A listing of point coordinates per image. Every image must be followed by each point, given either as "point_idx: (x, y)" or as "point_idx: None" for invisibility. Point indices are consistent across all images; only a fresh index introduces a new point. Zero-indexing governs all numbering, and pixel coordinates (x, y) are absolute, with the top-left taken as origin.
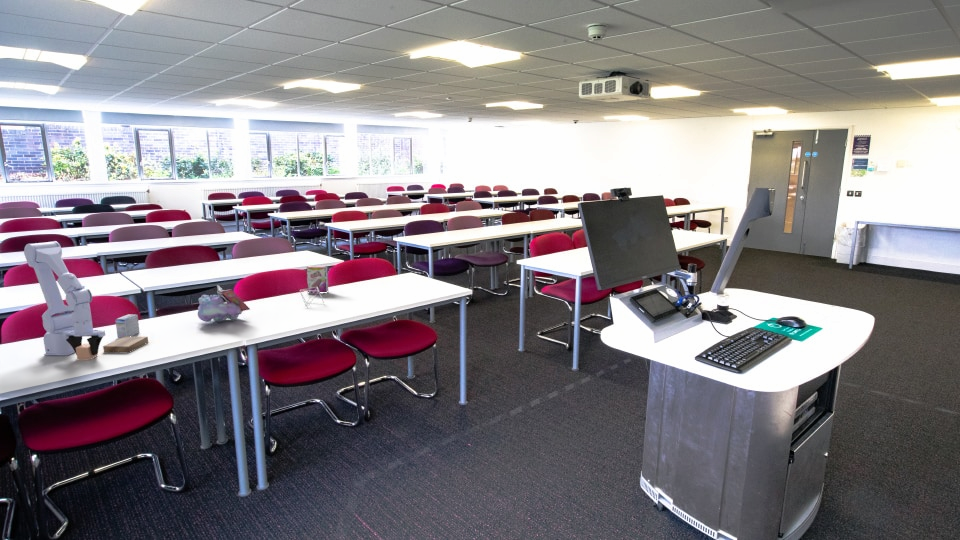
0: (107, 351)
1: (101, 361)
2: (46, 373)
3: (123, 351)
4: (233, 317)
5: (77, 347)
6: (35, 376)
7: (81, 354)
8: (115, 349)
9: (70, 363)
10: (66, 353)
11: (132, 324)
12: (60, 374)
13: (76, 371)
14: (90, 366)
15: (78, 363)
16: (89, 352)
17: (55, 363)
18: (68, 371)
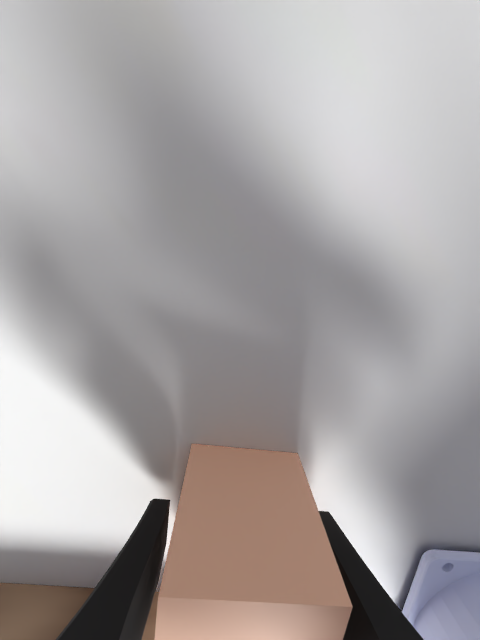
0: None
1: (48, 396)
2: (398, 99)
3: (5, 595)
4: None
5: (327, 612)
6: (472, 5)
7: (261, 496)
8: (64, 624)
9: (309, 373)
10: (451, 575)
11: None
12: (227, 32)
13: (105, 118)
14: (58, 266)
15: (235, 366)
16: (175, 522)
17: (441, 387)
18: (196, 132)
